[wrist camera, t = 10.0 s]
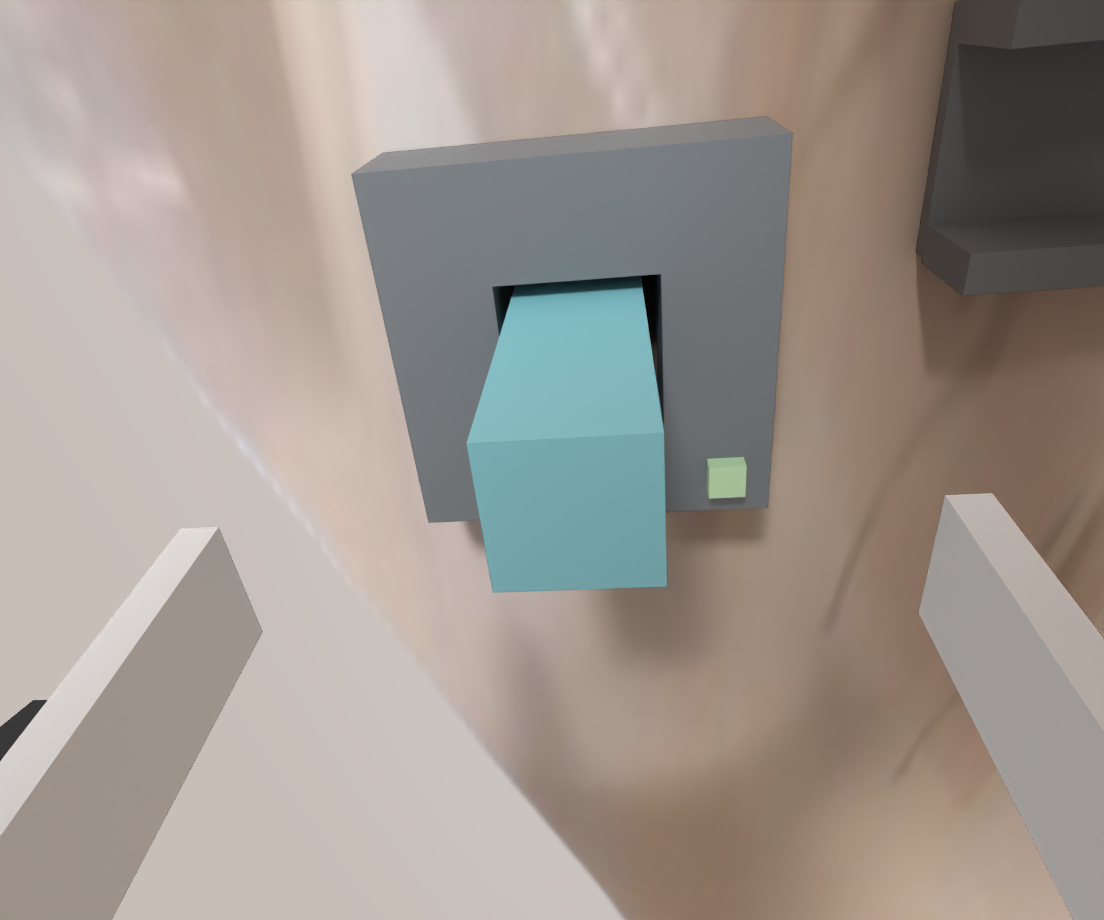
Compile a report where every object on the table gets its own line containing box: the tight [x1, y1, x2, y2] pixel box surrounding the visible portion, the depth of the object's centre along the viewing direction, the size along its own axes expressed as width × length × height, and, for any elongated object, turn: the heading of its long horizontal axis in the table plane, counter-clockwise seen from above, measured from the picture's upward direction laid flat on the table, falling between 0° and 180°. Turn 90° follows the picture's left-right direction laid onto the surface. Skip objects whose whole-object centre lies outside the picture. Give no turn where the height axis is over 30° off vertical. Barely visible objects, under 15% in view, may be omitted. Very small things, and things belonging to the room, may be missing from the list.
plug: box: [466, 276, 667, 593], centre depth 21 cm, size 4×4×12 cm
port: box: [351, 117, 793, 523], centre depth 24 cm, size 12×12×4 cm
